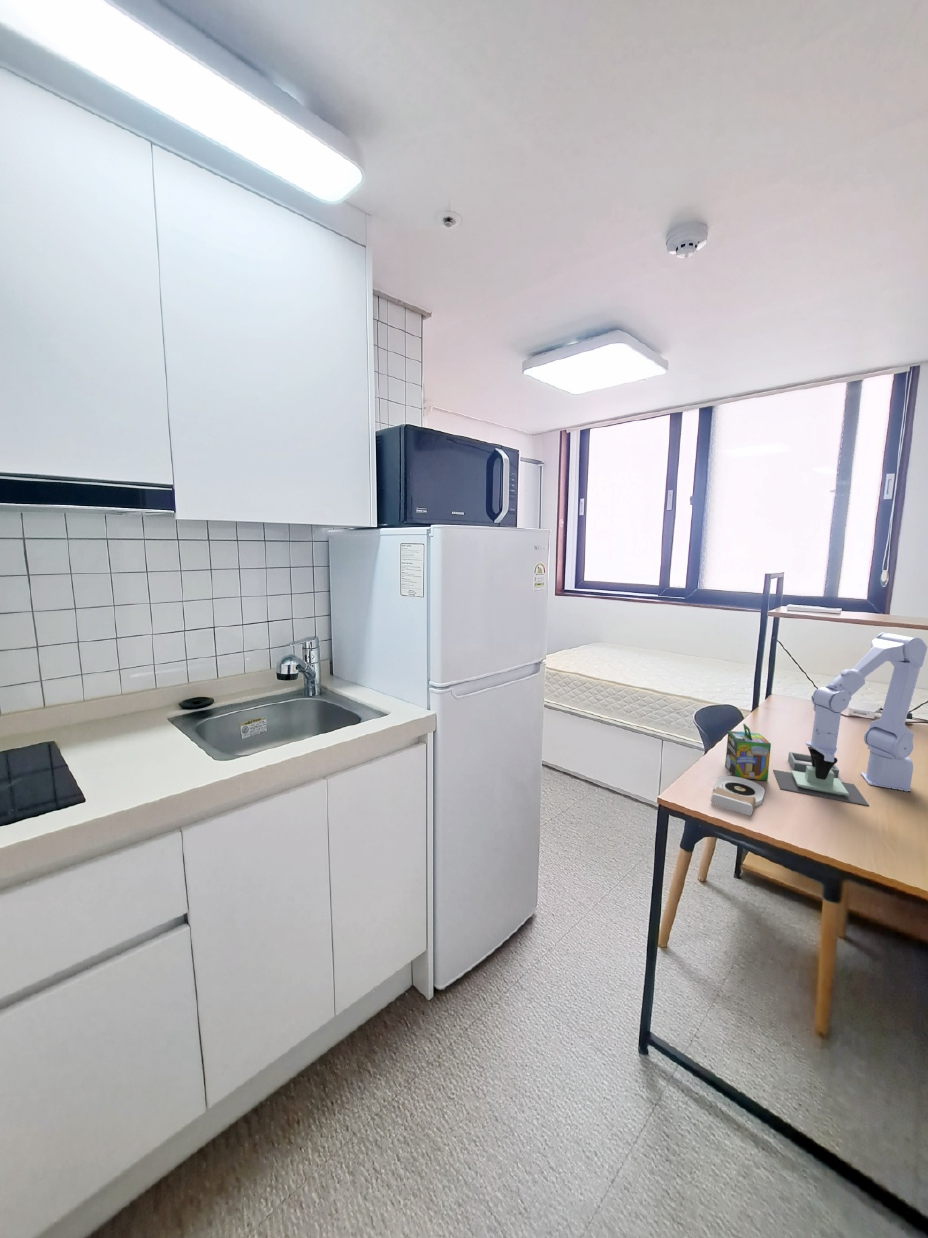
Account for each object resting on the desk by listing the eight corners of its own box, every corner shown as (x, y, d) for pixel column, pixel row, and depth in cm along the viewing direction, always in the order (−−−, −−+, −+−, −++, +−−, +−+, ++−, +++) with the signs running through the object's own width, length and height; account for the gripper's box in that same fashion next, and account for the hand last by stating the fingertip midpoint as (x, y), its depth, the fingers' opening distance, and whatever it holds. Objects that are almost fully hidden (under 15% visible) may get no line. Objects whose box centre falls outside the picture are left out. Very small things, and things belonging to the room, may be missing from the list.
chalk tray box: (829, 769, 150) (830, 758, 150) (837, 781, 142) (839, 770, 142) (787, 762, 155) (789, 751, 154) (793, 773, 147) (794, 762, 146)
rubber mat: (853, 785, 139) (854, 784, 139) (869, 806, 128) (869, 805, 128) (773, 770, 148) (773, 769, 148) (780, 789, 136) (780, 788, 136)
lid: (838, 783, 140) (840, 767, 139) (848, 798, 131) (850, 781, 130) (790, 774, 144) (792, 759, 144) (797, 788, 136) (799, 772, 135)
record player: (707, 792, 128) (722, 767, 143) (705, 803, 128) (720, 777, 144) (758, 807, 121) (767, 779, 136) (756, 819, 121) (766, 790, 137)
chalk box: (768, 781, 140) (773, 733, 138) (733, 778, 142) (738, 730, 140) (756, 768, 149) (761, 722, 147) (723, 764, 151) (728, 719, 149)
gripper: (802, 720, 143) (797, 763, 145) (814, 736, 130) (807, 783, 132) (831, 724, 140) (825, 768, 142) (846, 741, 127) (839, 789, 129)
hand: (819, 776), depth 137 cm, fingers closed on lid, 3 cm apart
